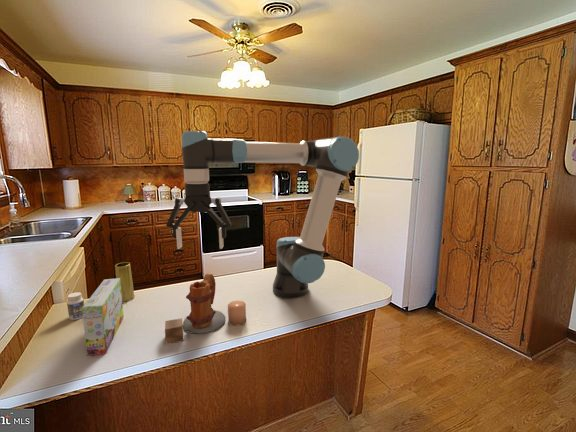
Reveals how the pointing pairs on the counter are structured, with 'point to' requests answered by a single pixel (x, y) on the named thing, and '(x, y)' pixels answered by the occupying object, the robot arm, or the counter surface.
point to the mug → (202, 302)
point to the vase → (125, 280)
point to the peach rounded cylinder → (236, 312)
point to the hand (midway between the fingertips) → (200, 247)
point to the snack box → (102, 316)
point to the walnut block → (174, 331)
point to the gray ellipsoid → (215, 324)
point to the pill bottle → (75, 305)
